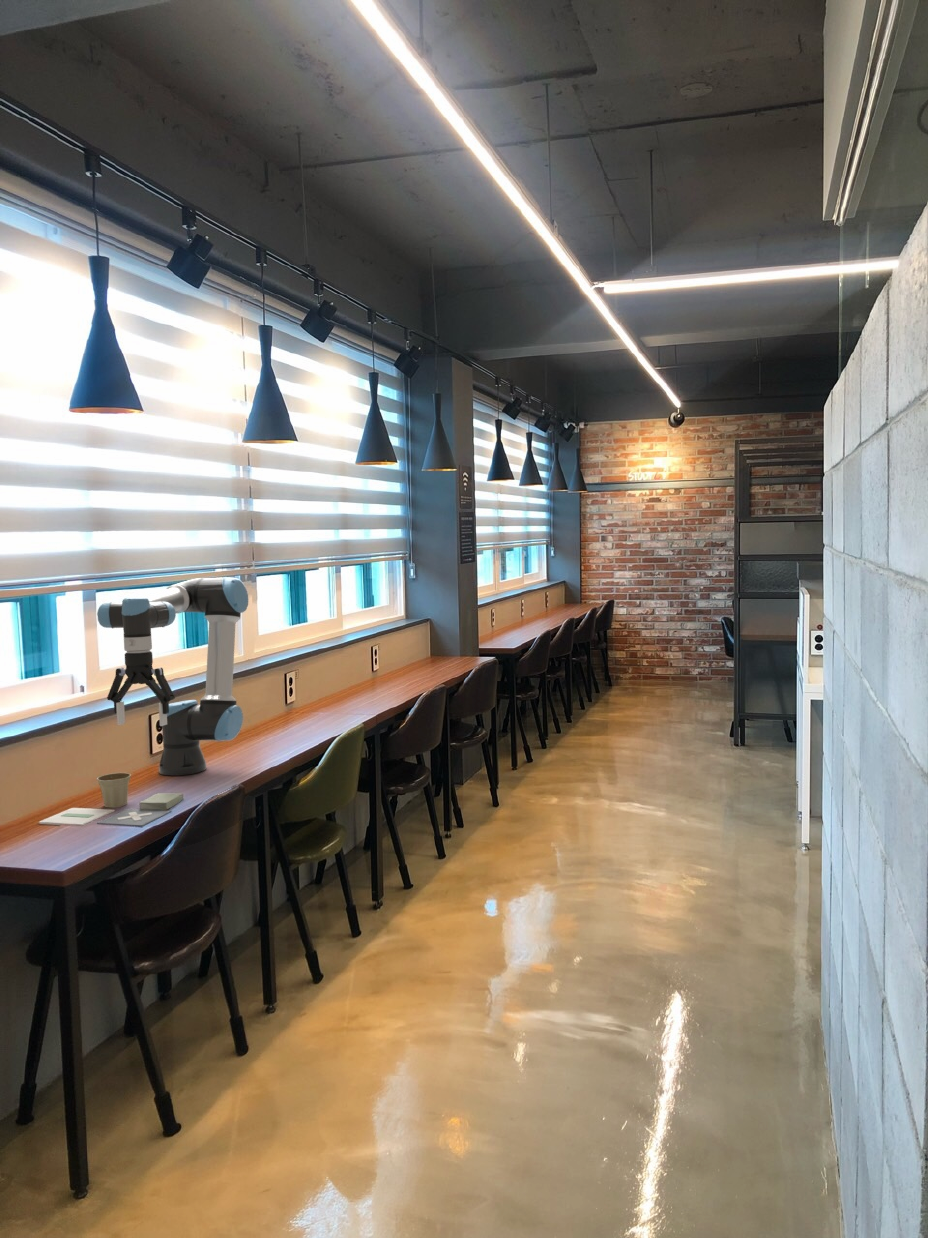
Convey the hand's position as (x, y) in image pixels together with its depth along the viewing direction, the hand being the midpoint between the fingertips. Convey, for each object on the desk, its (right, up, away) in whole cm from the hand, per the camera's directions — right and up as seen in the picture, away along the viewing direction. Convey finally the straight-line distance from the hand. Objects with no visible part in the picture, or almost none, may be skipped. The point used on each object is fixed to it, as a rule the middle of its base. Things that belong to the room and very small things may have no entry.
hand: (142, 725), depth 273 cm
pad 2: (+2, -25, -11) cm, 27 cm away
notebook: (+5, -23, +1) cm, 24 cm away
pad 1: (-15, -25, -8) cm, 30 cm away
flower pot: (-9, -24, +3) cm, 26 cm away
